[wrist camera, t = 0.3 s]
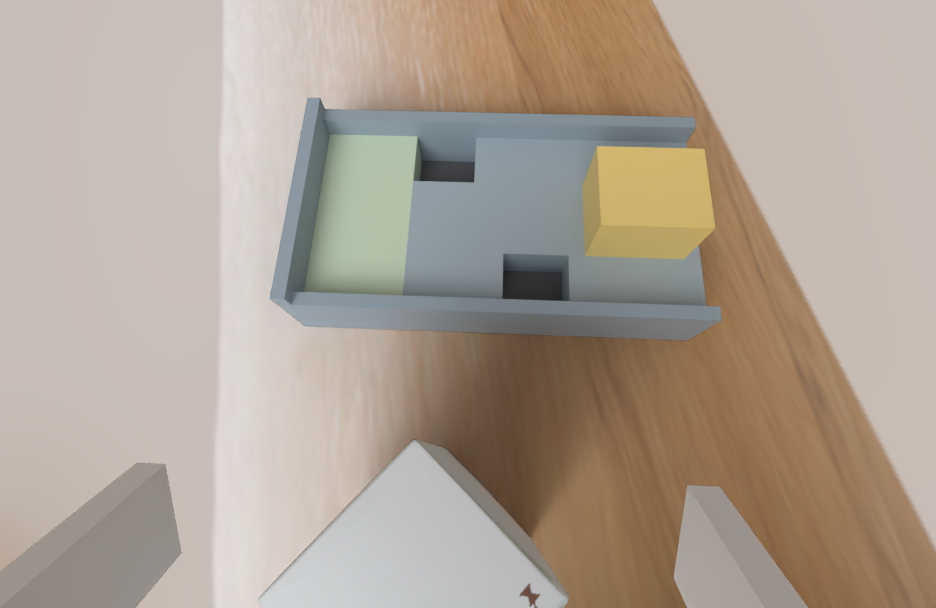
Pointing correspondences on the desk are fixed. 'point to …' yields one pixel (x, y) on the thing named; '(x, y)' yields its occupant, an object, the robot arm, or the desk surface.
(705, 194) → the block
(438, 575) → the supplement box
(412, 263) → the tray
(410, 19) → the desk surface
